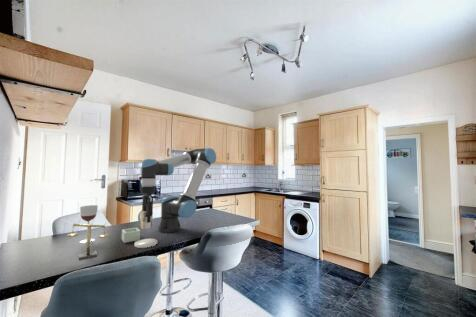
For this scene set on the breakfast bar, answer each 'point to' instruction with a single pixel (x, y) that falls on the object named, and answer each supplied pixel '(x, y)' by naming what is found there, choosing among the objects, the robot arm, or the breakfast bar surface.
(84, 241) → the wineglass
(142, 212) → the block
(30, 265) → the breakfast bar surface
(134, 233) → the pale green open box
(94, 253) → the balance
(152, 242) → the dish
